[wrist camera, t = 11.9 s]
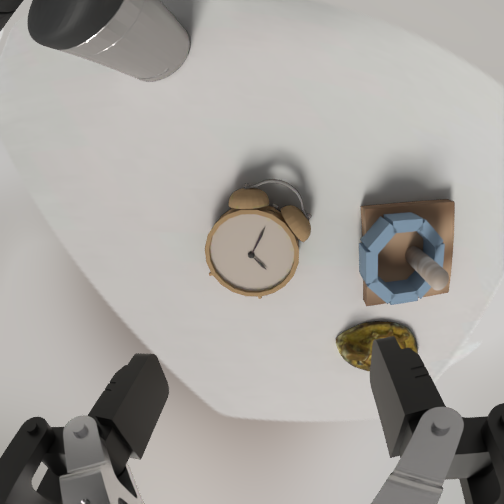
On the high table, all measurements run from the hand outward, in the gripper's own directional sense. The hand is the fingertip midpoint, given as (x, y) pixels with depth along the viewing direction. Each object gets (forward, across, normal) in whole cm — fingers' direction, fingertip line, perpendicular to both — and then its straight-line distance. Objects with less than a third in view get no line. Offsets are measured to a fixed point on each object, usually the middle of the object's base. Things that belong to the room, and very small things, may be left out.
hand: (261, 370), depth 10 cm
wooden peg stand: (+28, -17, +7) cm, 34 cm away
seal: (+29, -13, +22) cm, 39 cm away
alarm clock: (+29, +2, +3) cm, 29 cm away
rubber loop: (+26, -15, +7) cm, 31 cm away
